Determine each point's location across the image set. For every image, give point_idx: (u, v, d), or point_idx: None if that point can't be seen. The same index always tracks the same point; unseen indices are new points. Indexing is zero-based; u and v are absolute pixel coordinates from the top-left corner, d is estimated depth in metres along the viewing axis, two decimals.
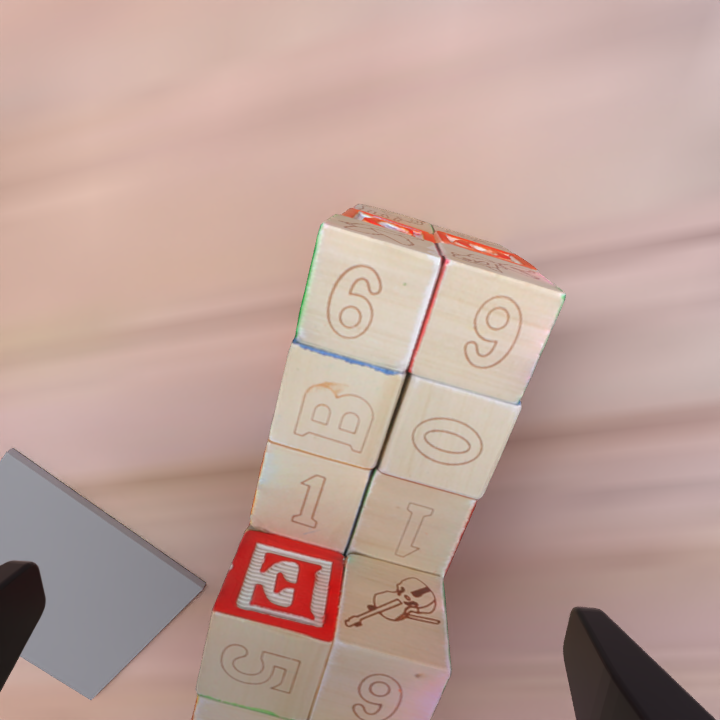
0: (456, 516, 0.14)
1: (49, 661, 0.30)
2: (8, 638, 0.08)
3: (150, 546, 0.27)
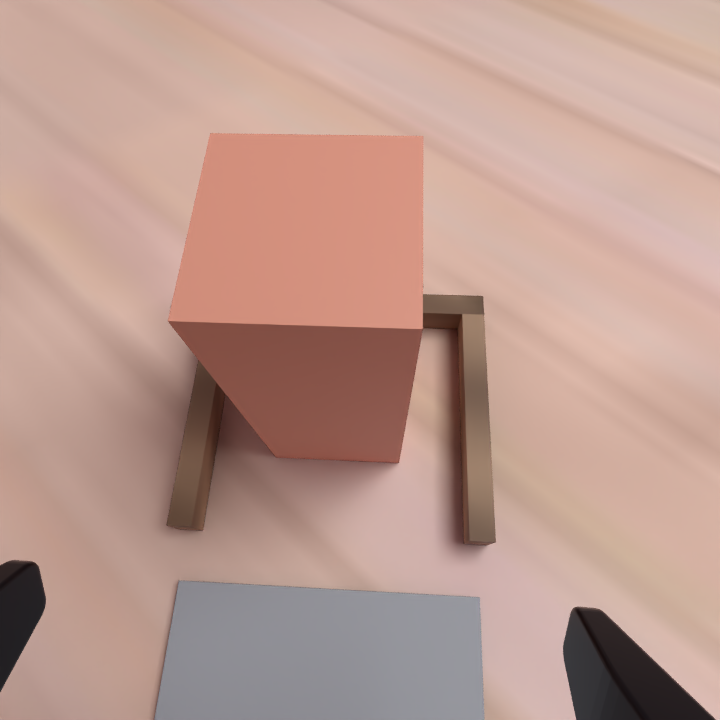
0: None
1: None
2: (8, 638, 0.08)
3: None
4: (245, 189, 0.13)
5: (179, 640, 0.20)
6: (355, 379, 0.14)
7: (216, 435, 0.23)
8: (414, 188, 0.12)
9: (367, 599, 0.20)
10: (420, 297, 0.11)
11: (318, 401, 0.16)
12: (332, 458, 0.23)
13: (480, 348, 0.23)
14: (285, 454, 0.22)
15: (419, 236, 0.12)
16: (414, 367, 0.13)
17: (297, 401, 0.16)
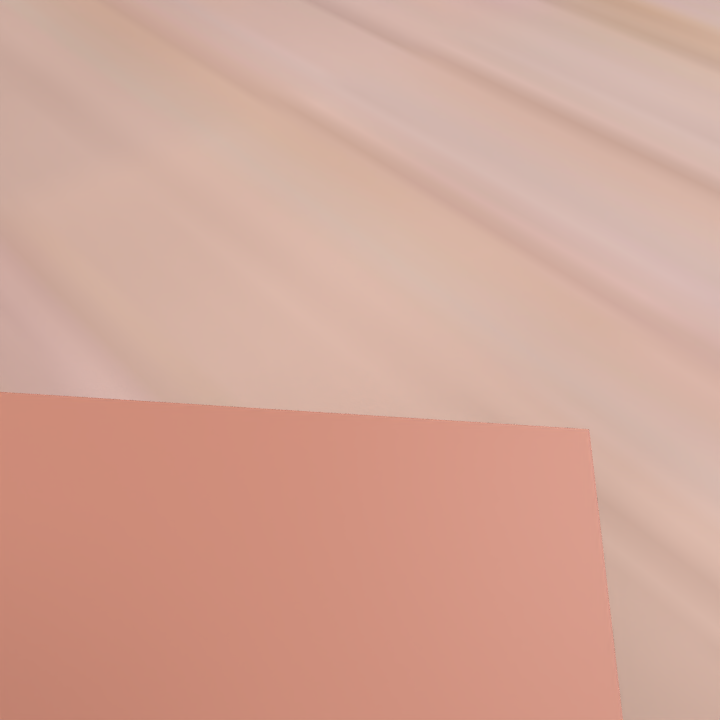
0: None
1: None
2: None
3: None
4: None
5: None
6: None
7: None
8: (586, 715, 0.03)
9: None
10: None
11: None
12: None
13: None
14: None
15: None
16: None
17: None
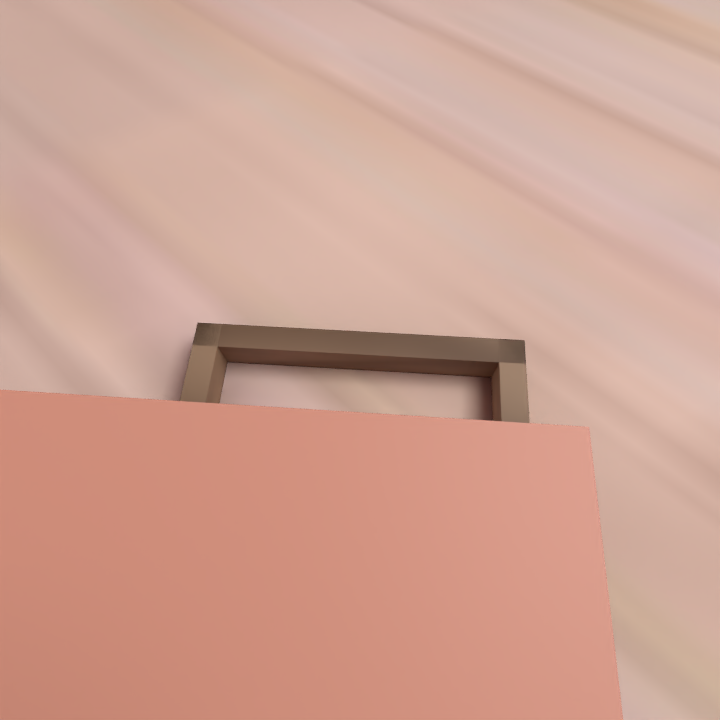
0: None
1: None
2: None
3: None
4: None
5: None
6: None
7: None
8: (586, 711, 0.03)
9: None
10: None
11: None
12: None
13: (521, 406, 0.19)
14: None
15: None
16: None
17: None
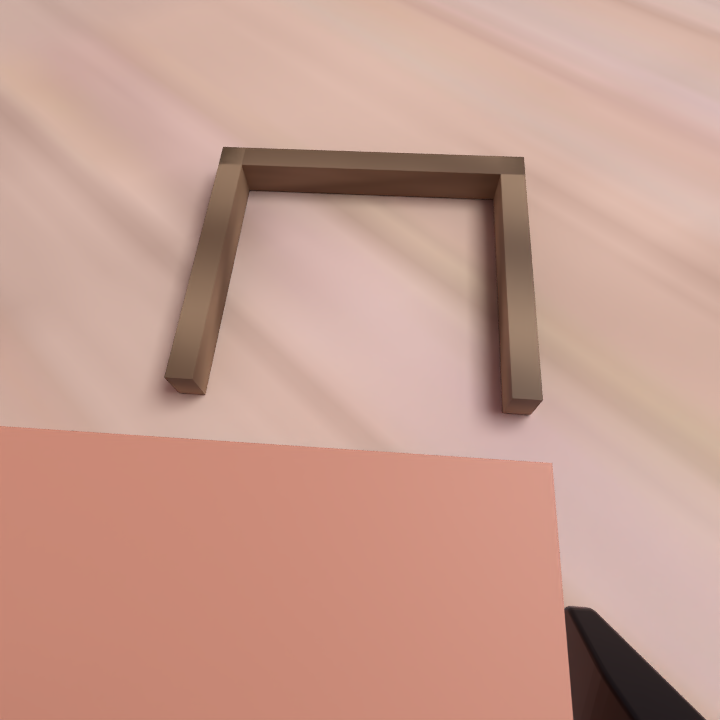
0: None
1: None
2: None
3: None
4: None
5: None
6: None
7: (223, 298, 0.21)
8: (542, 696, 0.04)
9: None
10: None
11: None
12: None
13: (521, 207, 0.21)
14: None
15: None
16: None
17: None
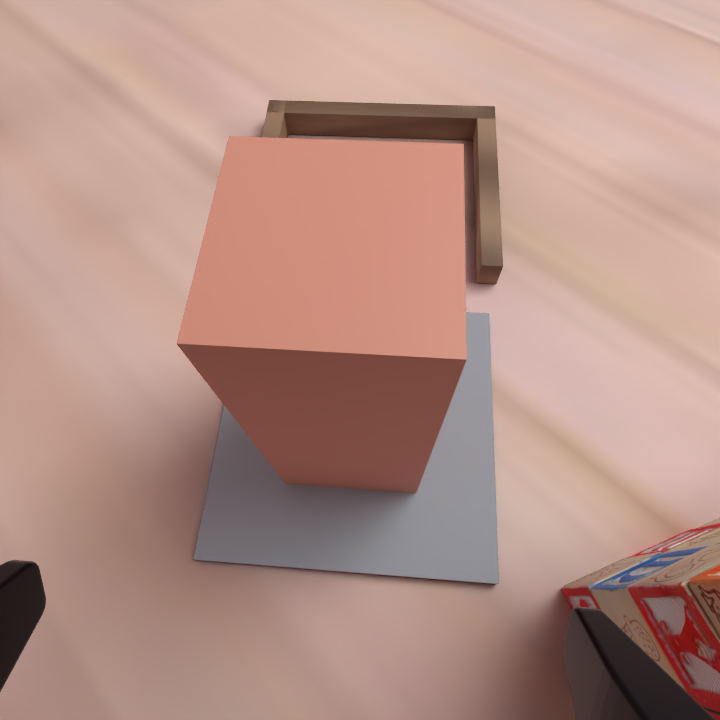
0: None
1: (232, 474, 0.22)
2: (8, 638, 0.08)
3: None
4: (266, 197, 0.11)
5: None
6: (382, 409, 0.12)
7: None
8: (455, 201, 0.11)
9: None
10: (463, 322, 0.10)
11: (336, 430, 0.14)
12: (345, 486, 0.21)
13: (492, 141, 0.28)
14: (295, 481, 0.21)
15: (461, 253, 0.11)
16: (450, 399, 0.11)
17: (314, 429, 0.14)
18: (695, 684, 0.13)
